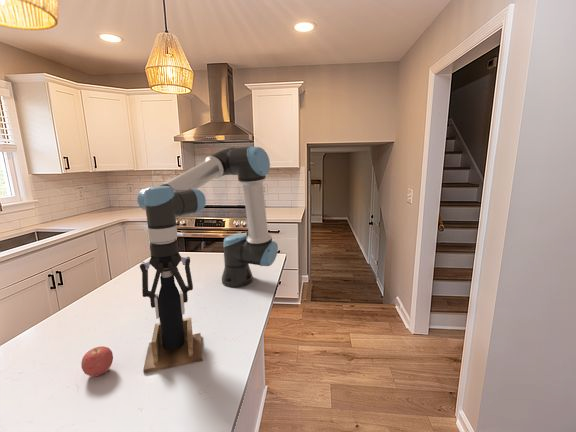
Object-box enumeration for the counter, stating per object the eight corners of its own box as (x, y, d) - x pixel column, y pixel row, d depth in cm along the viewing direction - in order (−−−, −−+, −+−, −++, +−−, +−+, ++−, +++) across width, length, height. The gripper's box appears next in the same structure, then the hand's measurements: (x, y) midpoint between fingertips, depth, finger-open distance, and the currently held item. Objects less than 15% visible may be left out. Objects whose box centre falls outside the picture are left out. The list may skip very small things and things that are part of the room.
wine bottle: (177, 351, 85) (168, 254, 80) (157, 348, 87) (147, 253, 81) (188, 338, 92) (180, 247, 86) (170, 336, 93) (161, 246, 87)
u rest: (200, 336, 99) (199, 314, 97) (202, 360, 87) (200, 336, 85) (149, 345, 94) (146, 323, 92) (143, 373, 82) (140, 347, 80)
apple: (110, 379, 80) (106, 353, 78) (79, 385, 78) (74, 359, 76) (117, 361, 87) (114, 337, 85) (89, 366, 85) (85, 342, 83)
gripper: (198, 234, 89) (203, 303, 94) (128, 240, 83) (137, 313, 88) (199, 240, 82) (204, 314, 87) (123, 247, 76) (133, 326, 81)
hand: (170, 314), depth 87 cm, fingers closed on wine bottle, 6 cm apart
